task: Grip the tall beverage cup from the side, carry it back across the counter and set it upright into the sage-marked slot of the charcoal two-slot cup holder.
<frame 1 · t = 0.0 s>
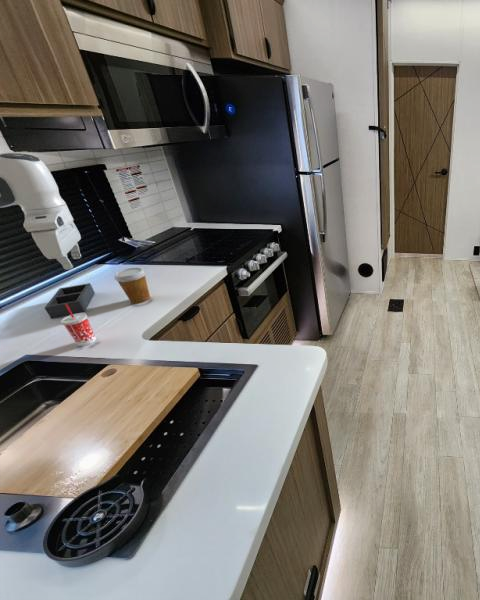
hand: (73, 263, 98), 25 cm above the worktop, tool pointing down, fingers open, 8 cm apart
beverage cup: (87, 342, 106), on the worktop
cup holder: (74, 305, 128), on the worktop
disposable coffee cup: (141, 300, 131), on the worktop
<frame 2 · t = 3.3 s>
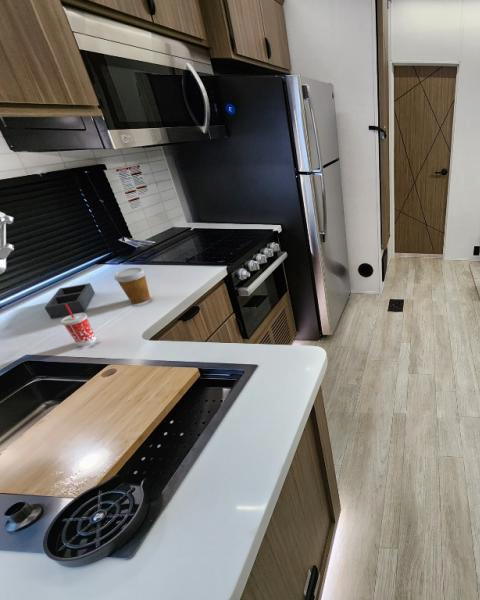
hand: (10, 232, 95), 34 cm above the worktop, tool pointing upward, fingers open, 8 cm apart
nothing on the worktop moved.
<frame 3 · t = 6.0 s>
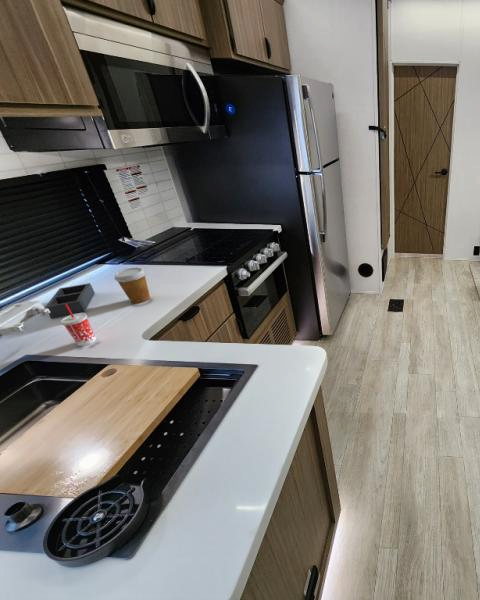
hand: (35, 319, 101), 9 cm above the worktop, tool horizontal, fingers open, 8 cm apart
nothing on the worktop moved.
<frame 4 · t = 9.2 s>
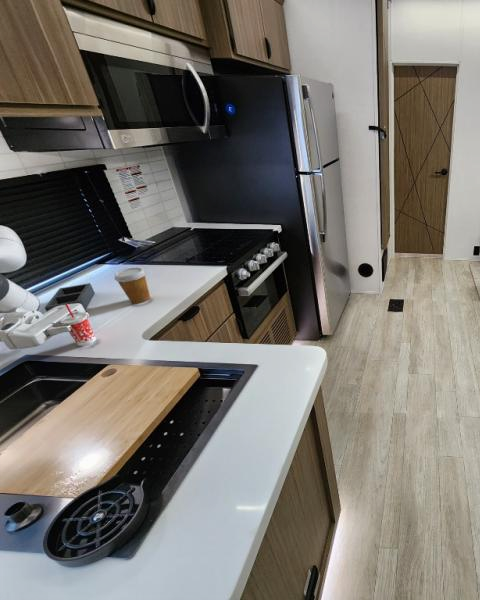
hand: (79, 321, 103), 8 cm above the worktop, tool horizontal, fingers closed on beverage cup, 6 cm apart
beverage cup: (87, 342, 106), on the worktop, touching gripper
everything else where it was.
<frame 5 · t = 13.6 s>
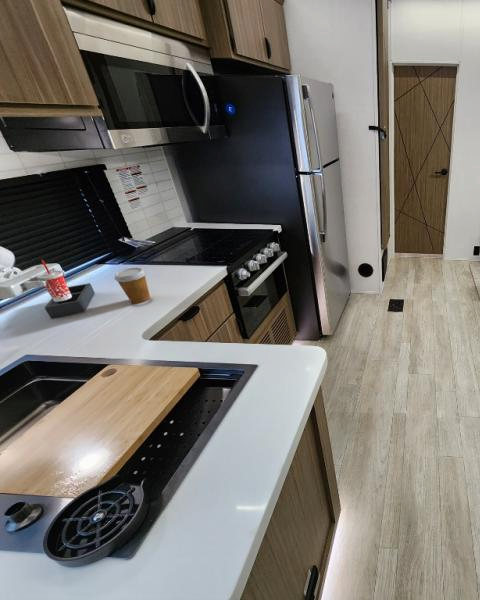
hand: (54, 278, 109), 17 cm above the worktop, tool horizontal, fingers closed on beverage cup, 6 cm apart
beverage cup: (63, 299, 112), point 9 cm above the worktop, touching gripper
everything else where it was.
when the fingers open (8 cm above the worktop, at t = 18.1 s): beverage cup stays where it is, resting on cup holder.
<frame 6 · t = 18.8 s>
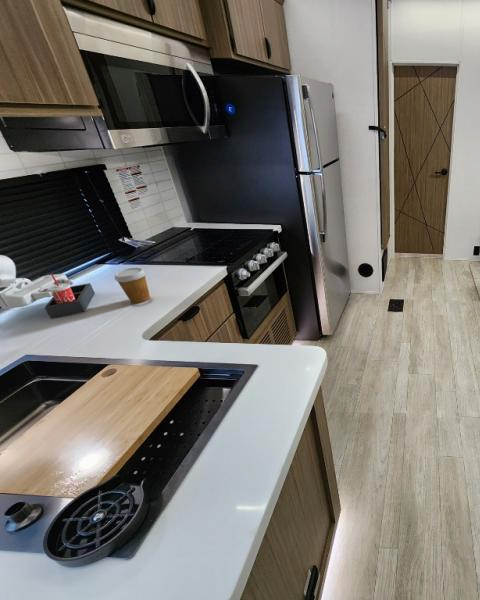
hand: (62, 287, 120), 9 cm above the worktop, tool horizontal, fingers open, 8 cm apart
beverage cup: (70, 308, 124), point 1 cm above the worktop, touching cup holder
everything else where it was.
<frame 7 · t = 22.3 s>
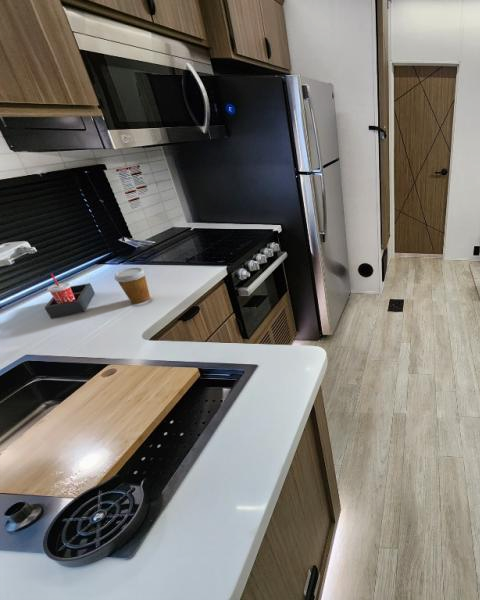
hand: (23, 255, 114), 22 cm above the worktop, tool horizontal, fingers open, 8 cm apart
nothing on the worktop moved.
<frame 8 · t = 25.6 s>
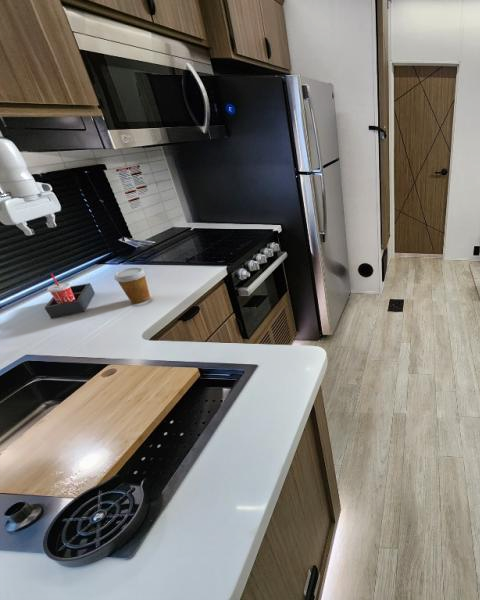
hand: (42, 230, 115), 29 cm above the worktop, tool pointing down, fingers open, 8 cm apart
nothing on the worktop moved.
at the end: beverage cup 0.1 cm from the target spot in the cup holder, point 0.6 cm above the cup holder's base; beverage cup tilted 0°; the gripper is holding nothing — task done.
